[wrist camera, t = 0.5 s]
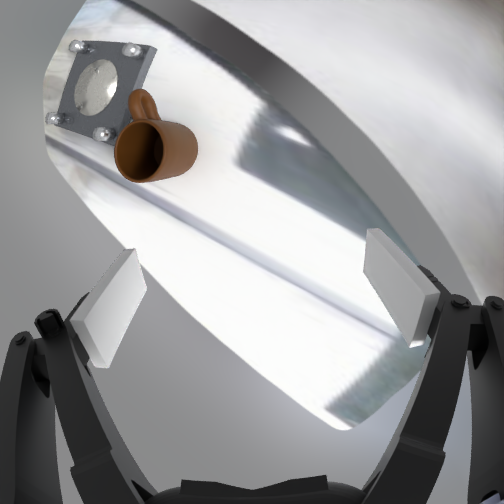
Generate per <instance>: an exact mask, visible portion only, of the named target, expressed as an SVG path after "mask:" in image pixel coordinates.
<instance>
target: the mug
mask: <svg viewBox="0 0 504 504" xmlns="http://www.w3.org/2000/svg"><path fill="white" fill-rule="evenodd" d="M128 108H129V111H130V114H131V116H132V119H133V122H131V123H129V124H128V125H127V126H126V127H124V129H123V130H122V131H121V132H120V134H119V136H118V138H117V140H116V143H115V148H114V158H115V163H116V166H117V168H118V170H119V171H120V173H121V174H122V175H123V176H124V177H125V178H126V179H128V180H130V181H132V182H135V183H144V182H153V181H158V180H162V179H167V178H171V177H175V176H179V175H181V174H183V173H185V172H186V171H188V170H189V169H190V168H191V167H192V165H193V164H194V162H195V160H196V158H197V154H198V144H197V140H196V137H195V135H194V134H193V132H192V131H191V130H190V129H189V128H187V127H186V126H184V125H181V124H178V123H172V122H166V121H162V120H161V118H160V117H159V115H158V112H157V108H156V104H155V101H154V99H153V98H152V96H151V95H150V94H149V93H148V92H147V91H146V90H144V89H136V90H134V91H132V92H131V94H130V95H129V98H128Z"/></svg>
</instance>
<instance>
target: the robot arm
mask: <svg viewBox="0 0 504 504" xmlns="http://www.w3.org/2000/svg"><path fill="white" fill-rule="evenodd" d="M363 272H364V274H365V275H366V277H367V278H368V280H369V282H370V283H371V285H372V286H373V288H374V289H375V291H376V293H377V294H378V296H379V297H380V299H381V301H382V302H383V304H384V305H385V307H386V309H387V310H388V312H389V314H390V315H391V317H392V319H393V320H394V322H395V324H396V325H397V327H398V329H399V330H400V332H401V334H402V336H403V337H404V339H405V341H406V343H407V344H408V346H409V348H411V347H415V346H419V345H423V344H424V342H425V339H426V337H427V334H428V335H429V337H430V338H431V342H430V345H429V347H428V350H427V352H426V355H425V357H424V358H425V360H424V363H423V366H422V369H421V372H420V375H419V377H418V380H417V382H416V385H415V388H414V390H413V393H412V395H411V398H410V400H409V402H408V405H407V407H406V410H405V412H404V414H403V416H402V418H401V421H400V423H399V425H398V427H397V429H396V431H395V433H394V435H393V437H392V439H391V441H390V443H389V445H388V447H387V449H386V451H385V453H384V454H383V456H382V458H381V460H380V462H379V463H378V465H377V467H376V469H375V470H374V472H373V474H372V475H371V476H370V478H369V480H368V481H367V483H366V484H365V485H364V487H363V488H362V490H359V489H358V488H355V487H353V486H350V485H346V484H343V483H337V482H327V476H326V475H322V476H315V477H308V478H300V479H291V480H287V481H284V482H281V483H278V484H274V485H271V486H267V487H264V488H260V489H255V490H250V489H244V488H240V487H235V486H231V485H226V484H222V483H218V482H206V481H191V480H182V481H181V487H176V488H172V489H168V490H165V491H162V492H160V493H158V492H157V491H156V490H155V489H154V488H153V486H152V485H151V484H150V483H149V482H148V480H147V479H146V477H145V476H144V474H143V473H142V472H141V470H140V468H139V467H138V465H137V463H136V462H135V460H134V458H133V457H132V455H131V454H130V452H129V450H128V448H127V446H126V445H125V443H124V441H123V439H122V437H121V436H120V434H119V432H118V430H117V428H116V426H115V424H114V422H113V420H112V418H111V416H110V414H109V412H108V410H107V408H106V406H105V404H104V402H103V399H102V397H101V395H100V393H99V390H98V388H97V386H96V383H95V381H94V379H93V376H92V374H91V372H90V369H89V367H88V366H87V362H88V360H89V358H90V360H91V361H92V363H93V365H94V366H95V367H100V368H109V366H110V364H111V362H112V359H113V357H114V355H115V353H116V350H117V348H118V346H119V344H120V342H121V340H122V338H123V336H124V334H125V332H126V330H127V328H128V325H129V323H130V321H131V319H132V317H133V315H134V313H135V311H136V309H137V307H138V306H139V304H140V302H141V300H142V298H143V296H144V294H145V292H146V290H147V287H146V284H145V281H144V277H143V274H142V270H141V267H140V263H139V260H138V256H137V252H136V248H134V249H124V250H123V252H122V253H121V254H120V255H119V256H118V257H117V259H116V260H115V261H114V262H113V264H112V265H111V266H110V267H109V269H108V270H107V271H106V272H105V274H104V275H103V276H102V277H101V279H100V280H99V281H98V282H97V284H96V285H95V286H94V288H93V289H92V290H91V292H88V293H87V294H86V295H85V296H83V297H82V298H81V299H80V300H79V302H78V303H77V305H76V306H75V307H74V308H73V310H72V311H71V313H70V314H69V315H68V317H67V318H66V319H65V321H64V322H63V320H62V318H61V316H60V314H59V312H58V310H56V309H49V310H46V311H44V312H42V313H41V314H40V315H38V316H37V318H36V319H35V322H34V323H35V326H36V327H37V329H38V331H39V333H40V334H41V336H42V338H38V339H33V337H32V335H31V334H30V333H29V332H27V331H24V332H21V333H18V334H17V335H15V336H14V338H13V339H12V340H11V342H10V345H9V349H8V352H7V356H6V359H5V363H4V367H3V371H2V376H1V380H0V504H63V501H62V495H61V489H60V482H59V474H58V465H57V455H56V437H55V405H56V408H57V412H58V416H59V419H60V422H61V426H62V429H63V432H64V436H65V439H66V441H67V445H68V447H69V450H70V453H71V456H72V458H73V461H74V464H75V465H74V466H73V467H71V470H70V471H71V475H72V478H73V480H74V483H75V485H76V487H77V490H78V492H79V494H80V496H81V499H82V501H83V503H84V504H426V503H427V500H428V498H429V496H430V494H431V492H432V490H433V487H434V485H435V483H436V480H437V478H438V476H439V473H440V470H441V468H442V465H443V463H444V459H445V452H444V451H443V447H444V444H445V441H446V438H447V435H448V432H449V428H450V425H451V422H452V418H453V415H454V411H455V407H456V404H457V399H458V395H459V391H460V387H461V382H462V377H463V371H464V366H465V361H466V355H467V357H468V365H469V376H470V386H471V403H472V450H471V466H470V476H469V486H468V504H504V300H503V299H501V298H500V297H496V296H488V297H486V299H485V301H484V304H483V306H477V305H471V303H470V301H469V300H468V299H467V298H465V297H463V296H461V295H456V294H452V295H451V294H450V293H449V291H448V290H447V289H446V288H445V287H444V286H443V285H442V284H441V283H440V282H439V281H438V279H437V278H436V277H434V275H433V274H432V273H431V272H430V271H429V270H428V269H426V268H424V267H422V266H421V265H420V266H416V265H415V264H414V263H413V262H412V261H411V260H410V259H409V258H408V257H407V256H406V254H405V253H404V252H403V251H402V250H401V249H400V248H399V247H398V246H397V245H396V244H395V243H394V242H393V241H392V240H391V239H390V238H389V237H388V236H387V235H386V234H385V233H384V232H382V231H381V230H380V229H379V228H375V229H367V237H366V249H365V260H364V269H363Z"/></svg>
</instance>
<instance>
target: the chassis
mask: <svg viewBox="0 0 504 504" xmlns="http://www.w3.org/2000/svg"><path fill="white" fill-rule="evenodd" d="M69 50H70V51H74V52H77V55H76V57H75V60H74V63H73V65H72V68H71V71H70V74H69V77H68V80H67V83H66V86H65V89H64V92H63V95H62V99H61V102H60V106H59V109H58V113H48V114H47V116H46V123H47V124H55V125H56V126H59V127H62V128H65V129H68V130H71V131H74V132H77V133H79V134H82V135H85V136H88V137H91V138H93V139H94V140H95V141H102V142H105V143H107V144H110V145H113V146H115V143H116V140H117V138H118V136H119V134H120V132H121V131H122V130H123V129H124V127H126V126H127V125H128V124H129V122H130V119H131V114H130V111H129V108H128V98H129V95H130V94H131V92H132V91H134V90H136V89H141V88H142V85H143V83H144V80H145V78H146V75H147V73H148V70H149V68H150V65H151V63H152V61H153V58H154V56H155V54H156V52H157V49H156V48H154V47H152V46H148V45H140V44H133V43H120V42H105V41H82V42H81V41H78V40H73V41H72V42H71V43H70V45H69Z"/></svg>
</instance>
